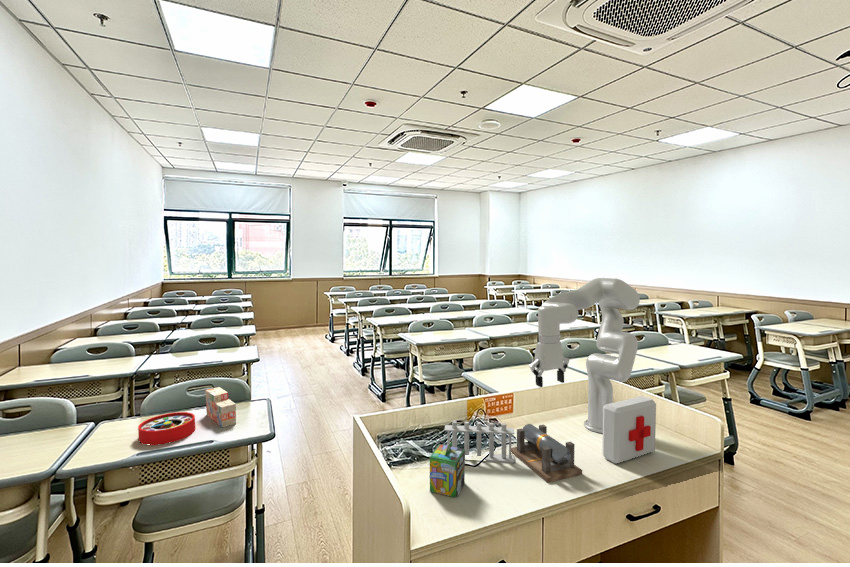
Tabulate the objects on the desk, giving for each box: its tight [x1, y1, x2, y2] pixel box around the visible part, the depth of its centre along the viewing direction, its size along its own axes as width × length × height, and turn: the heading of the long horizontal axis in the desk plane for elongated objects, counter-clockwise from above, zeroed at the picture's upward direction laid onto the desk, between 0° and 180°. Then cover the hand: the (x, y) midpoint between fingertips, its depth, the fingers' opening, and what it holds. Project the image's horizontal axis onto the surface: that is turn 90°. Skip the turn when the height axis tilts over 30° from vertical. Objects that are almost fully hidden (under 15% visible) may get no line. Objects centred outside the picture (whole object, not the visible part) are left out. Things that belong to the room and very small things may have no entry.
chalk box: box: [429, 439, 466, 498], centre depth 125 cm, size 9×9×15 cm
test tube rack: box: [443, 420, 516, 464], centre depth 143 cm, size 25×4×13 cm, turn 82°
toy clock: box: [137, 411, 196, 446], centre depth 166 cm, size 20×6×20 cm
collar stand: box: [511, 424, 583, 484], centre depth 140 cm, size 14×22×10 cm, turn 20°
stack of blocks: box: [204, 386, 237, 428], centre depth 182 cm, size 21×6×12 cm, turn 45°
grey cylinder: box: [522, 423, 571, 465], centre depth 140 cm, size 6×20×6 cm, turn 20°
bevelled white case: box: [601, 395, 657, 465], centre depth 143 cm, size 21×8×20 cm, turn 115°
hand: (550, 383), depth 148 cm, fingers open, 9 cm apart
